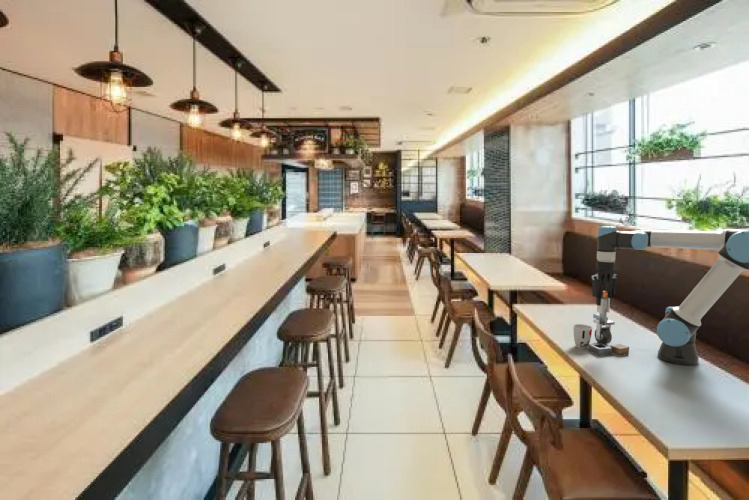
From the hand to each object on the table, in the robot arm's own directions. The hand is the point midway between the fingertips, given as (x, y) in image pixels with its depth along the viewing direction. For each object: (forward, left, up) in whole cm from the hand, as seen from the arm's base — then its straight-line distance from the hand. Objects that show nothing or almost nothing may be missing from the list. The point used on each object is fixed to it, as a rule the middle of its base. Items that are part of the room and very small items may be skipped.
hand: (603, 311), depth 213 cm
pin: (0, 0, -6) cm, 6 cm away
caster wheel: (+10, -10, -19) cm, 24 cm away
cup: (+9, +3, -19) cm, 21 cm away
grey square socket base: (0, 0, -19) cm, 19 cm away
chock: (-3, -8, -19) cm, 21 cm away
